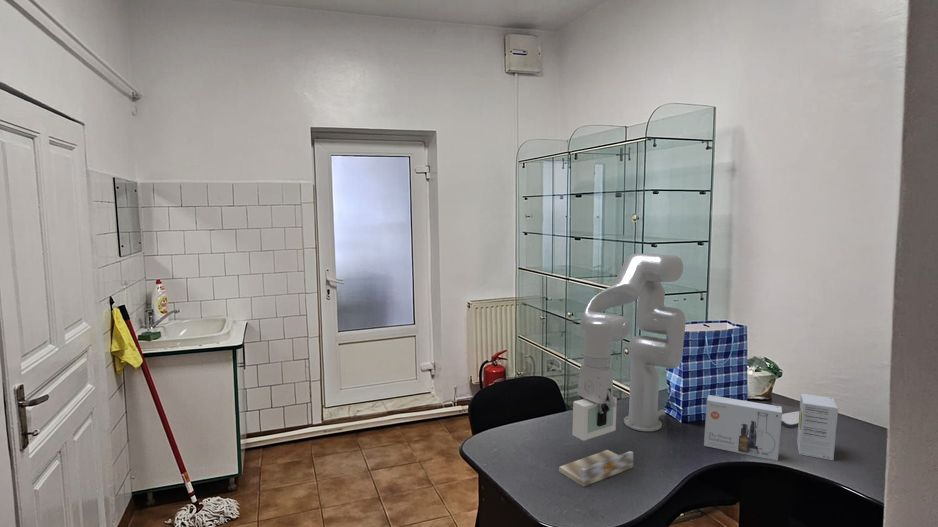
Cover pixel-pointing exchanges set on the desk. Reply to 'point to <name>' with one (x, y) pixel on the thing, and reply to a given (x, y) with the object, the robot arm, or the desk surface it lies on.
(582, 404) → the carton
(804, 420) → the supplement box
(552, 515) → the desk surface
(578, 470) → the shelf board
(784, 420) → the phone case
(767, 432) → the skincare box
